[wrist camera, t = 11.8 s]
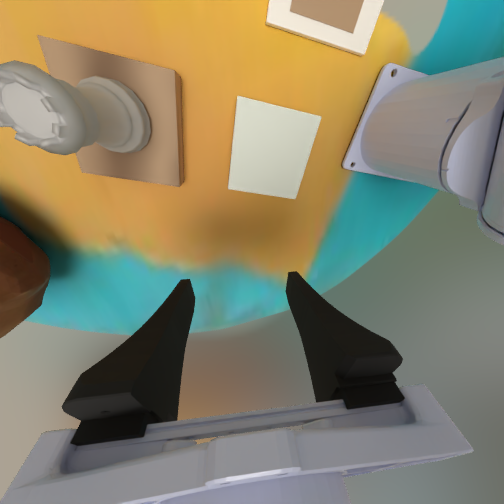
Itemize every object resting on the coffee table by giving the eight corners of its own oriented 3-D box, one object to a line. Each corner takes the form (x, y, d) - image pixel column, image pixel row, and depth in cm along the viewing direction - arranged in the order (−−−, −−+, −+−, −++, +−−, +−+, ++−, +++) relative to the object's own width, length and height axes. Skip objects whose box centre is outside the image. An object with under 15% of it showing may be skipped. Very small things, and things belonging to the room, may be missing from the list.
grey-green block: (312, 117, 16) (321, 116, 15) (290, 193, 20) (295, 199, 19) (236, 98, 15) (237, 95, 14) (228, 183, 19) (228, 188, 17)
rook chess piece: (72, 78, 12) (-107, 23, 6) (141, 79, 13) (45, 27, 6) (104, 152, 15) (4, 173, 8) (160, 151, 15) (107, 170, 9)
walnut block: (180, 76, 14) (174, 70, 13) (184, 181, 19) (179, 187, 17) (61, 46, 13) (36, 34, 11) (96, 168, 17) (81, 172, 15)
